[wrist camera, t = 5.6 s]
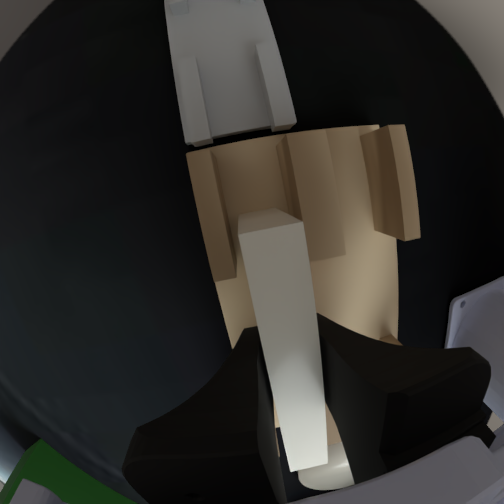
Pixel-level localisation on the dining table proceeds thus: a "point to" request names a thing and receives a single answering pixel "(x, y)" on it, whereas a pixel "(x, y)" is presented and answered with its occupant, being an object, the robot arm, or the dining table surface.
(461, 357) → the robot arm
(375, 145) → the dish rack
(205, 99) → the plate stand
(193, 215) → the dining table surface
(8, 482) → the hardback book
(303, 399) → the white curved panel
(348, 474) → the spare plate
